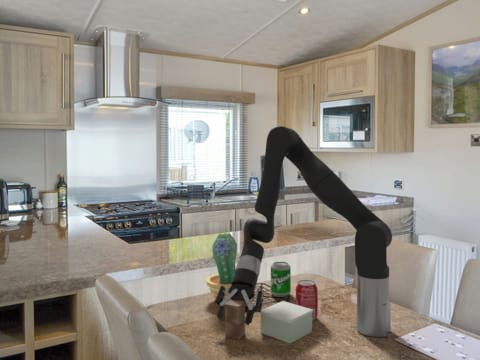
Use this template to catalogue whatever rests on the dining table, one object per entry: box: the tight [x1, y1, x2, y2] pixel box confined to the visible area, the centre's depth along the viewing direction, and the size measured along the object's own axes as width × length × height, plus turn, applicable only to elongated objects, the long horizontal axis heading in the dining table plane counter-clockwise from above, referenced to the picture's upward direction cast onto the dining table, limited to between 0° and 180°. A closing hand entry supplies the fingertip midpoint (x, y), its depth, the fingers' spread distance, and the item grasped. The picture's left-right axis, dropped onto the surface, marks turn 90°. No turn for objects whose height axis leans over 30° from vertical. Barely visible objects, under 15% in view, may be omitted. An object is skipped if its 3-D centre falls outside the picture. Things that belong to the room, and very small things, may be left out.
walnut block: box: [224, 299, 246, 341], centre depth 127 cm, size 4×4×10 cm
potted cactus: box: [205, 232, 238, 301], centre depth 157 cm, size 15×15×25 cm
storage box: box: [259, 300, 313, 344], centre depth 130 cm, size 11×11×7 cm
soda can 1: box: [270, 261, 292, 298], centre depth 164 cm, size 8×8×12 cm
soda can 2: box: [295, 279, 319, 322], centre depth 140 cm, size 7×7×12 cm
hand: (233, 321), depth 126 cm, fingers open, 8 cm apart
